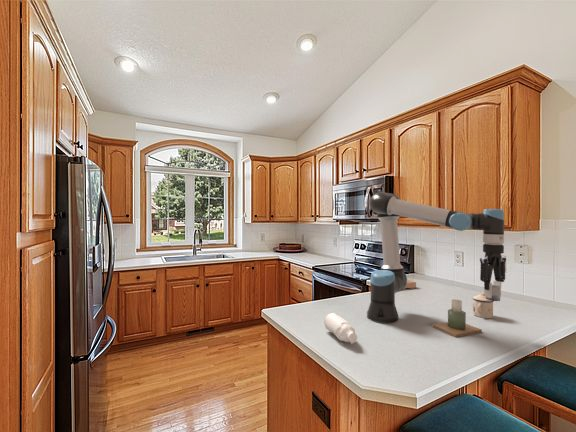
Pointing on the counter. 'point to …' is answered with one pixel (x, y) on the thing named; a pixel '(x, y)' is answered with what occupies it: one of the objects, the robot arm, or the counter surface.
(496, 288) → the cap
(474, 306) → the teacup with lid
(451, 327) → the brown board with cylinder
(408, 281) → the planter frame
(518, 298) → the counter surface
